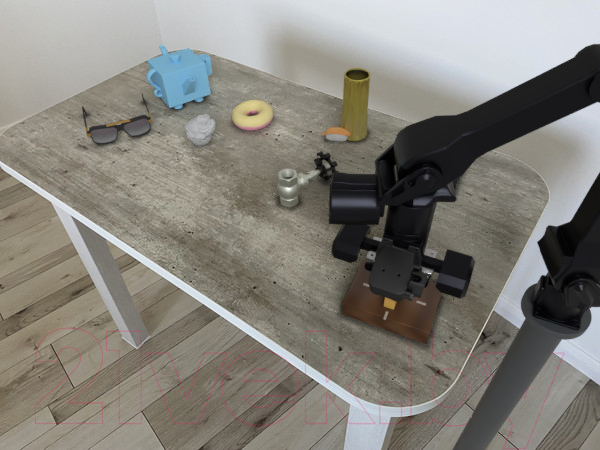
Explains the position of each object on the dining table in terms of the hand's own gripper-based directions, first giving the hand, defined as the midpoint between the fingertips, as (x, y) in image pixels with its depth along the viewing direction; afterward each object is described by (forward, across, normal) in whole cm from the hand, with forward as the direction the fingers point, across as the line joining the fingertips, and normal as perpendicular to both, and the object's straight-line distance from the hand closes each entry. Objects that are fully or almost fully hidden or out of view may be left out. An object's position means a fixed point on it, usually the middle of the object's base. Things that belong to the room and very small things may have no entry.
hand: (394, 292), depth 72 cm
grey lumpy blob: (+4, -50, +25) cm, 56 cm away
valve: (+4, -23, +19) cm, 30 cm away
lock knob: (0, 0, 0) cm, 0 cm away
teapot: (+4, -65, +40) cm, 76 cm away
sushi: (+4, -24, +37) cm, 45 cm away
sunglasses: (+4, -72, +24) cm, 76 cm away
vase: (+4, -21, +41) cm, 46 cm away
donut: (+4, -44, +37) cm, 58 cm away
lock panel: (+3, 0, 0) cm, 3 cm away
